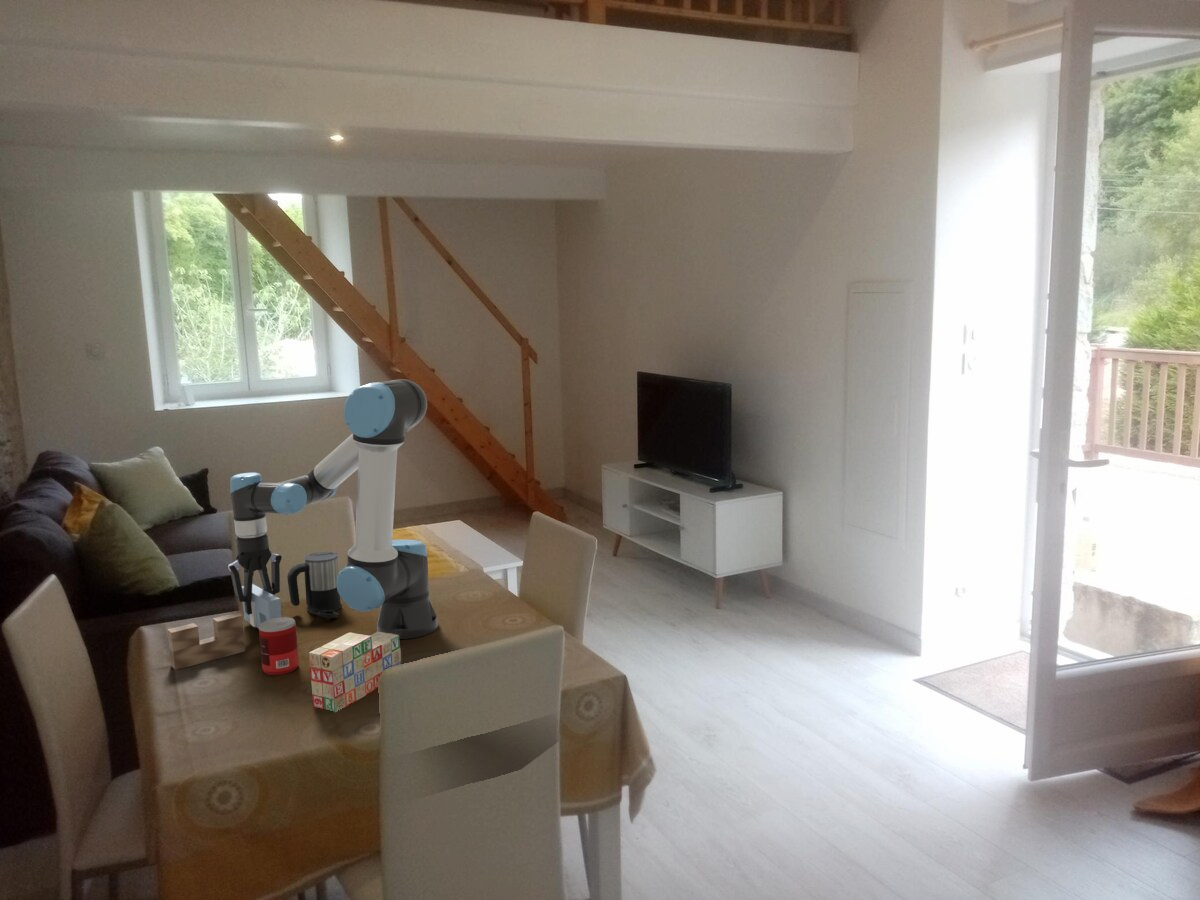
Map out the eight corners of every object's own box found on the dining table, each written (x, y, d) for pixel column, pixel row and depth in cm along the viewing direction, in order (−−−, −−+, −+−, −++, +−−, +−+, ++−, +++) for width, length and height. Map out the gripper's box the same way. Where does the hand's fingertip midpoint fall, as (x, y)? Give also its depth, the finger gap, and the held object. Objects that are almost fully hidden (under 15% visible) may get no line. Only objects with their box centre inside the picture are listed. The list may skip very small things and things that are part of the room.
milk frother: (328, 600, 254) (324, 549, 252) (365, 610, 245) (361, 558, 242) (284, 615, 243) (280, 561, 240) (321, 626, 233) (317, 571, 231)
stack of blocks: (380, 669, 205) (377, 618, 203) (402, 674, 203) (399, 622, 201) (312, 708, 186) (308, 651, 184) (335, 713, 184) (331, 656, 182)
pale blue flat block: (283, 633, 224) (279, 598, 223) (271, 636, 222) (267, 601, 221) (255, 616, 237) (252, 583, 236) (244, 619, 235) (240, 586, 234)
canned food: (305, 664, 209) (302, 618, 207) (283, 677, 202) (279, 630, 200) (278, 660, 212) (274, 615, 210) (255, 673, 204) (251, 627, 202)
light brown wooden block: (240, 647, 220) (237, 612, 218) (245, 651, 218) (242, 615, 216) (171, 666, 209) (167, 629, 208) (175, 669, 207) (171, 632, 206)
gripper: (277, 526, 235) (285, 612, 239) (213, 538, 225) (224, 628, 228) (288, 530, 230) (297, 618, 233) (224, 543, 219) (234, 635, 223)
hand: (261, 623), depth 231 cm, fingers closed on pale blue flat block, 3 cm apart
